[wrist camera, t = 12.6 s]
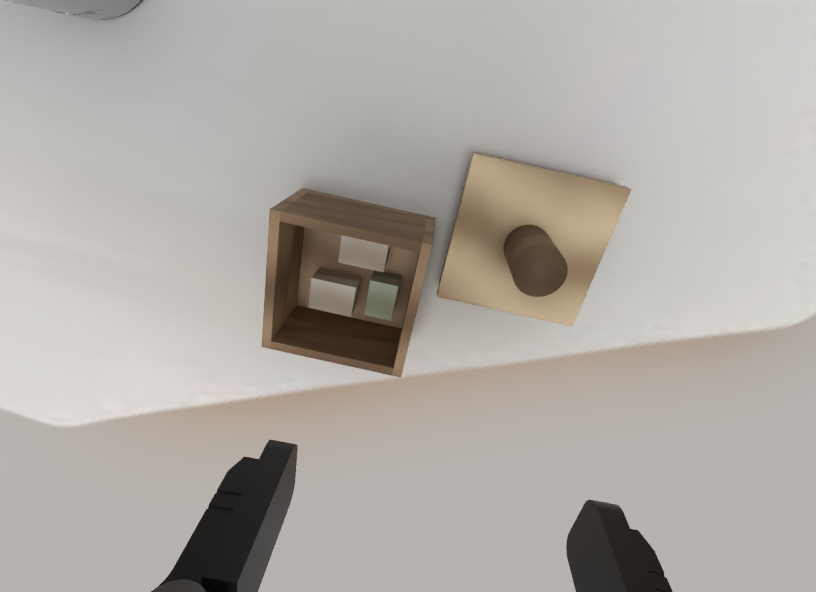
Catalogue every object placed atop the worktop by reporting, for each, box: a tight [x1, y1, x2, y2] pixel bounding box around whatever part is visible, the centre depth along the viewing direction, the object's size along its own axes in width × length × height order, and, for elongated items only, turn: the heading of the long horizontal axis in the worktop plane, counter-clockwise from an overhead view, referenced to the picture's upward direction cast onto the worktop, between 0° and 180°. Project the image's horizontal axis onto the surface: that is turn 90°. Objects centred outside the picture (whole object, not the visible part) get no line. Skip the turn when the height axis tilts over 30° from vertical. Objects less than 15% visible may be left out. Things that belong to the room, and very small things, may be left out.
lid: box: [437, 153, 631, 326], centre depth 27 cm, size 10×10×6 cm
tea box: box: [262, 189, 435, 377], centre depth 29 cm, size 10×10×6 cm
